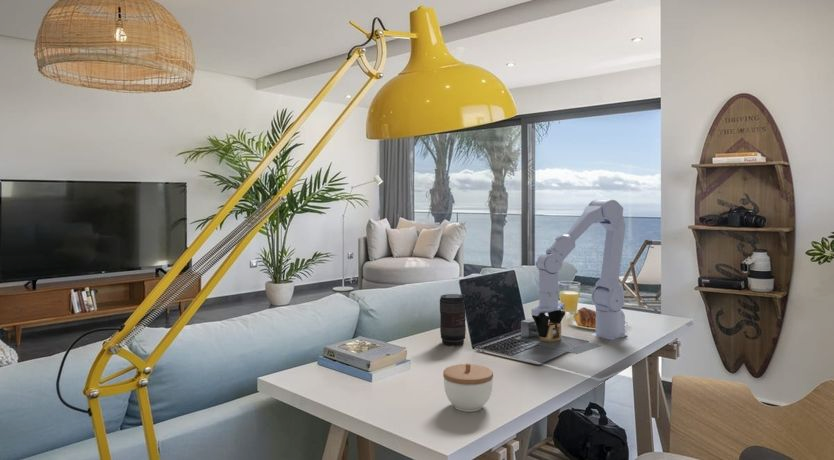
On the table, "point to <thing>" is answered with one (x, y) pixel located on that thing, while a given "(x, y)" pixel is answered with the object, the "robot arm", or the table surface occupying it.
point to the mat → (560, 345)
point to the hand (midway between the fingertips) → (548, 335)
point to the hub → (549, 336)
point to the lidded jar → (468, 386)
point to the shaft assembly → (531, 329)
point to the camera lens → (452, 319)
